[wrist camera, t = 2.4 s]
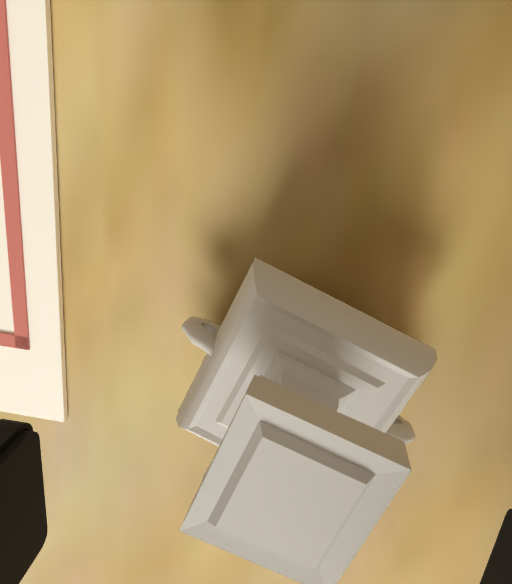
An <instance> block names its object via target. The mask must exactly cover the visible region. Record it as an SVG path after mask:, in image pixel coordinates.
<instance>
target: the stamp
mask: <svg viewBox="0 0 512 584" xmlns="http://www.w3.org/2000/svg"><path fill="white" fill-rule="evenodd" d="M182 330H183V331H184V333H185V334H186V335H187V337H188V338H189V340H190V341H191V342H192V343H193V344H194V345H196V346H198V347H200V348H201V349H203V350H204V351H205V352H206V353H207V354H206V356H205V358H204V360H203V362H202V364H201V366H200V368H199V370H198V372H197V374H196V376H195V378H194V380H193V382H192V384H191V386H190V388H189V390H188V392H187V394H186V396H185V398H184V400H183V402H182V404H181V406H180V408H179V410H178V414H177V417H176V421H177V424H178V426H179V427H181V428H183V429H185V430H187V431H189V432H191V433H193V434H195V435H197V436H199V437H201V438H203V439H205V440H207V441H209V442H211V443H213V444H215V445H217V446H219V448H218V450H217V452H216V454H215V456H214V458H213V460H212V462H211V463H210V465H209V467H208V469H207V470H206V472H205V474H204V476H203V479H202V482H201V485H200V487H199V489H198V491H197V493H196V495H195V497H194V499H193V501H192V503H191V505H190V508H189V510H188V512H187V515H186V517H185V519H184V522H183V524H182V526H181V529H180V531H181V532H183V533H185V534H188V535H190V536H192V537H195V538H197V539H199V540H202V541H204V542H206V543H209V544H211V545H213V546H216V547H218V548H220V549H223V550H225V551H227V552H230V553H232V554H234V555H237V556H239V557H241V558H244V559H246V560H248V561H251V562H253V563H255V564H258V565H260V566H262V567H265V568H267V569H269V570H272V571H274V572H276V573H279V574H281V575H283V576H286V577H288V578H290V579H293V580H295V581H297V582H300V583H302V584H337V582H338V581H339V579H340V578H341V576H342V575H343V573H344V572H345V570H346V569H347V567H348V566H349V564H350V563H351V561H352V560H353V558H354V557H355V555H356V554H357V552H358V550H359V549H360V547H361V546H362V544H363V543H364V541H365V540H366V538H367V537H368V535H369V534H370V532H371V531H372V529H373V528H374V526H375V525H376V523H377V522H378V520H379V519H380V517H381V516H382V514H383V513H384V511H385V510H386V508H387V507H388V505H389V504H390V502H391V501H392V499H393V498H394V496H395V494H396V493H397V491H398V490H399V488H400V487H401V485H402V484H403V482H404V481H405V479H406V478H407V476H408V475H409V473H410V472H411V466H410V462H409V458H408V455H407V451H406V447H405V444H407V443H409V442H412V441H413V440H414V439H415V433H414V431H413V429H412V426H411V424H410V423H409V422H407V421H406V420H405V419H403V418H402V417H401V416H399V414H400V412H401V411H402V410H403V408H404V407H405V406H406V404H407V403H408V401H409V400H410V399H411V397H412V396H413V395H414V393H415V392H416V390H417V389H418V388H419V386H420V385H421V384H422V382H423V381H424V379H425V378H426V377H427V375H428V374H429V372H430V371H431V370H432V368H433V366H434V364H435V362H436V360H437V355H436V350H435V349H433V348H431V347H429V346H427V345H426V344H424V343H422V342H420V341H418V340H416V339H414V338H412V337H410V336H408V335H406V334H404V333H402V332H400V331H398V330H396V329H394V328H392V327H390V326H388V325H386V324H384V323H383V322H381V321H379V320H377V319H375V318H373V317H371V316H369V315H367V314H365V313H363V312H361V311H359V310H357V309H355V308H353V307H351V306H349V305H347V304H345V303H343V302H342V301H340V300H338V299H336V298H334V297H332V296H330V295H328V294H326V293H324V292H322V291H320V290H318V289H316V288H314V287H312V286H310V285H308V284H306V283H304V282H302V281H300V280H299V279H297V278H295V277H293V276H291V275H289V274H287V273H285V272H283V271H281V270H279V269H277V268H275V267H273V266H271V265H269V264H267V263H265V262H263V261H261V260H259V259H257V258H256V257H255V259H254V261H253V263H252V265H251V267H250V269H249V271H248V273H247V275H246V277H245V279H244V281H243V283H242V285H241V287H240V289H239V291H238V293H237V295H236V297H235V299H234V301H233V303H232V305H231V307H230V309H229V311H228V313H227V315H226V317H225V319H224V321H223V323H222V325H219V324H216V323H213V322H211V321H208V320H206V319H202V318H198V317H190V318H189V319H187V320H186V321H185V322H184V323H183V324H182Z"/></svg>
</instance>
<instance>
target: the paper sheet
mask: <svg viewBox="0 0 512 584" xmlns="http://www.w3.org/2000/svg"><path fill="white" fill-rule="evenodd" d="M0 411H2V412H8V413H14V414H19V415H25V416H31V417H37V418H42V419H48V420H54V421H59V422H65V421H66V420H67V419H68V413H67V389H66V365H65V341H64V318H63V294H62V270H61V246H60V222H59V199H58V175H57V151H56V127H55V104H54V80H53V56H52V32H51V9H50V0H0Z"/></svg>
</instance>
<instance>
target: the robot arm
mask: <svg viewBox="0 0 512 584" xmlns="http://www.w3.org/2000/svg"><path fill="white" fill-rule="evenodd" d="M46 536H47V518H46V507H45V496H44V484H43V473H42V462H41V450H40V439H39V434H38V433H37V432H33V428H32V426H31V424H29V423H24V422H18V421H12V420H6V419H1V420H0V584H19V583H20V581H21V580H22V578H23V577H24V575H25V573H26V572H27V570H28V569H29V567H30V566H31V564H32V563H33V561H34V559H35V558H36V556H37V555H38V553H39V552H40V550H41V548H42V547H43V544H44V542H45V539H46ZM480 584H512V509H509V510H508V511H507V513H506V516H505V518H504V521H503V524H502V526H501V529H500V532H499V534H498V537H497V540H496V542H495V545H494V547H493V550H492V553H491V555H490V558H489V561H488V563H487V566H486V569H485V571H484V574H483V577H482V579H481V582H480Z"/></svg>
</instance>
